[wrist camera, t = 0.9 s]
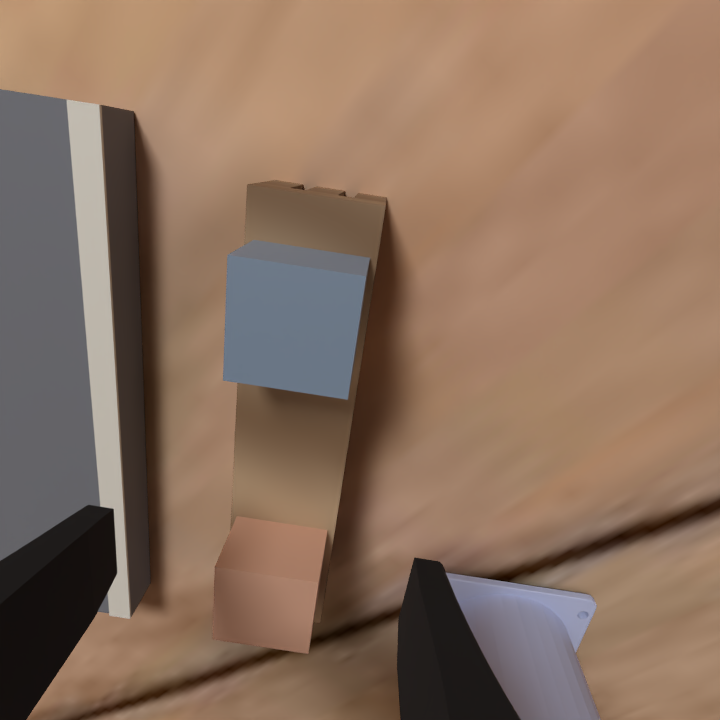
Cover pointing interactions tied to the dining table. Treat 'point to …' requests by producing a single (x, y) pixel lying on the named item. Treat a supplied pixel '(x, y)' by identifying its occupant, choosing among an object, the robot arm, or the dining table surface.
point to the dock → (71, 329)
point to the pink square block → (268, 584)
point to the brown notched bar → (295, 409)
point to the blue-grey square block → (293, 317)
